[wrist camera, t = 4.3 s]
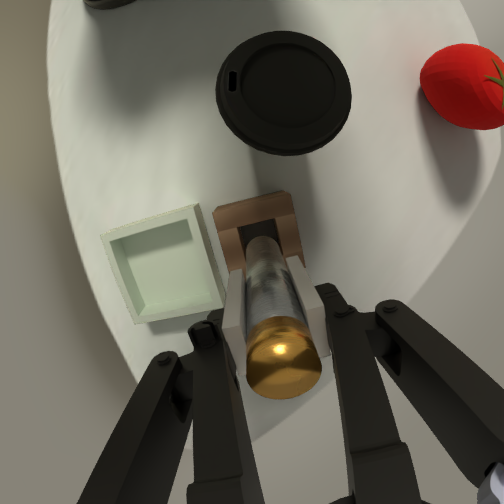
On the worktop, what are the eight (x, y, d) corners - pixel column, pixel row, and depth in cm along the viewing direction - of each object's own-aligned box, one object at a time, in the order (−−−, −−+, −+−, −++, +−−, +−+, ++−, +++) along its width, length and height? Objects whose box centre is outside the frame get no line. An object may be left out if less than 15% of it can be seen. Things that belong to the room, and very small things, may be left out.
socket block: (217, 206, 33) (212, 213, 28) (284, 190, 33) (290, 194, 28) (234, 269, 35) (232, 285, 30) (297, 254, 35) (305, 268, 30)
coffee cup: (311, 163, 32) (360, 160, 17) (226, 160, 31) (210, 153, 17) (312, 84, 29) (355, 33, 15) (228, 81, 29) (215, 22, 14)
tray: (112, 229, 33) (100, 235, 30) (198, 202, 33) (193, 207, 29) (143, 311, 37) (134, 324, 33) (225, 294, 36) (223, 307, 33)
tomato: (401, 109, 30) (471, 90, 16) (411, 44, 26) (469, 10, 13) (465, 147, 31) (535, 150, 17) (472, 86, 28) (534, 73, 14)
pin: (242, 240, 24) (237, 354, 9) (275, 232, 24) (317, 336, 9) (250, 271, 25) (256, 404, 10) (282, 263, 24) (324, 389, 10)
